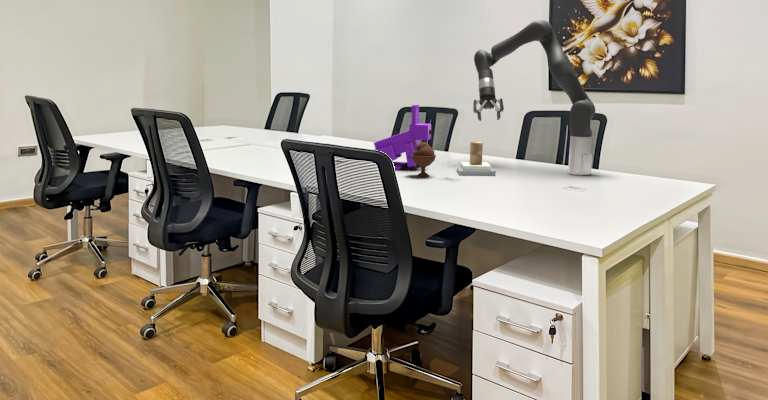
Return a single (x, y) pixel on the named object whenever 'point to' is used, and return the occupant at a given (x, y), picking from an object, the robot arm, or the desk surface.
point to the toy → (405, 142)
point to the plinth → (476, 173)
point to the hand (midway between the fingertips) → (489, 119)
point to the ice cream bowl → (423, 157)
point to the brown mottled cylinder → (476, 153)
